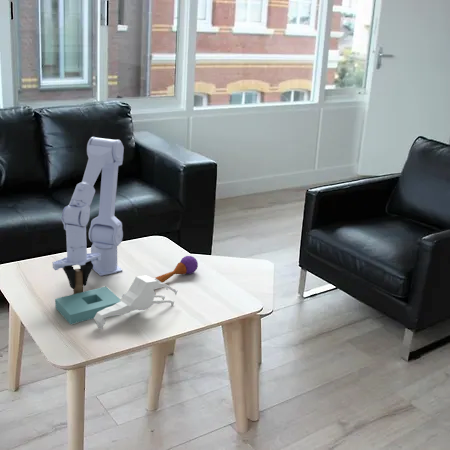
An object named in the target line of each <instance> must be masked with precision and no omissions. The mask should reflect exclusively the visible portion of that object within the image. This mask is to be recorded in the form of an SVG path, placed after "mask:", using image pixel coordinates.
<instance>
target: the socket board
mask: <svg viewBox="0 0 450 450" xmlns="http://www.w3.org/2000/svg"><path fill="white" fill-rule="evenodd" d="M120 299H121V298H119V296H118V295H116V294H115V293H114V292H113V291H112V290H111V289H110V288H108V287H107V286H101V287H98V288H94V289H90V290H86V291H83V292H81V293H77V294H69V295H65V296H62V297H61V296H60V297H57V298H54V302H55V303H54V304H55V309H56V310H57V311H58V312H59V314H60V315H61V316H62V317H63V318H64V319H65V320H66V321H67V322H68V324H69V325H74V324H78V323H82V322H85V321H88V320H92V319H93V320H94V317H95V315H96V313H97V312H99V311H101V310H103V309H105V308H107V307H110V306H113V305H115V304H116V303H118V302H121V301H120Z"/></svg>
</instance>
